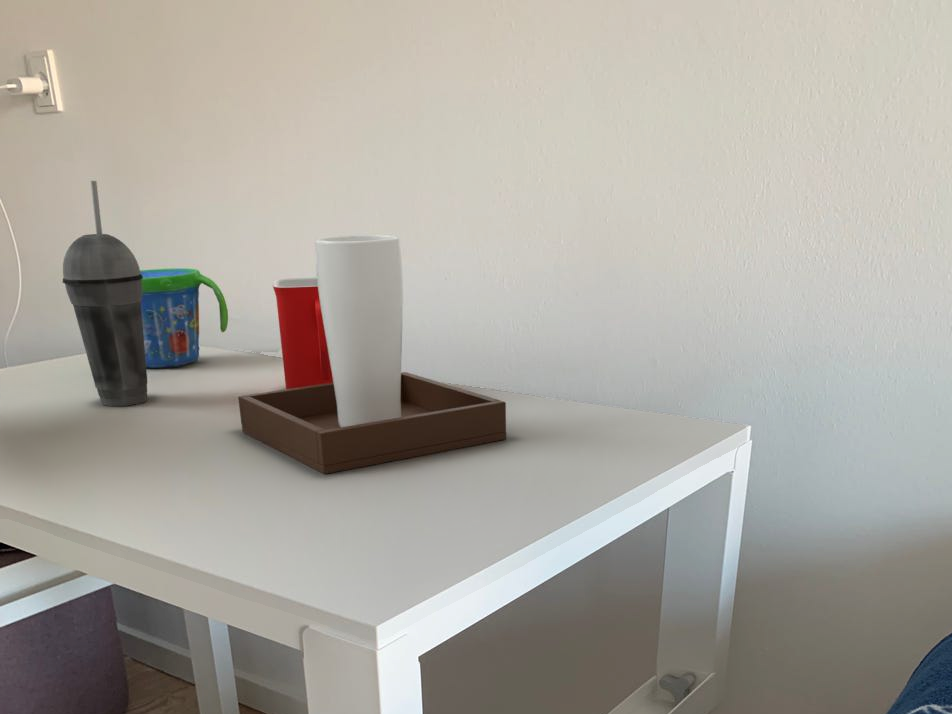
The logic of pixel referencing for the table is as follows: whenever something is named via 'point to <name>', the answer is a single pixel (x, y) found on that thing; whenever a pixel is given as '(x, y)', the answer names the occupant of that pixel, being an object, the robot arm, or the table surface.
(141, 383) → the beverage cup
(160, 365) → the snack cup
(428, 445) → the serving tray
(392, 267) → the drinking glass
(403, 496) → the table surface
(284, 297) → the mug
